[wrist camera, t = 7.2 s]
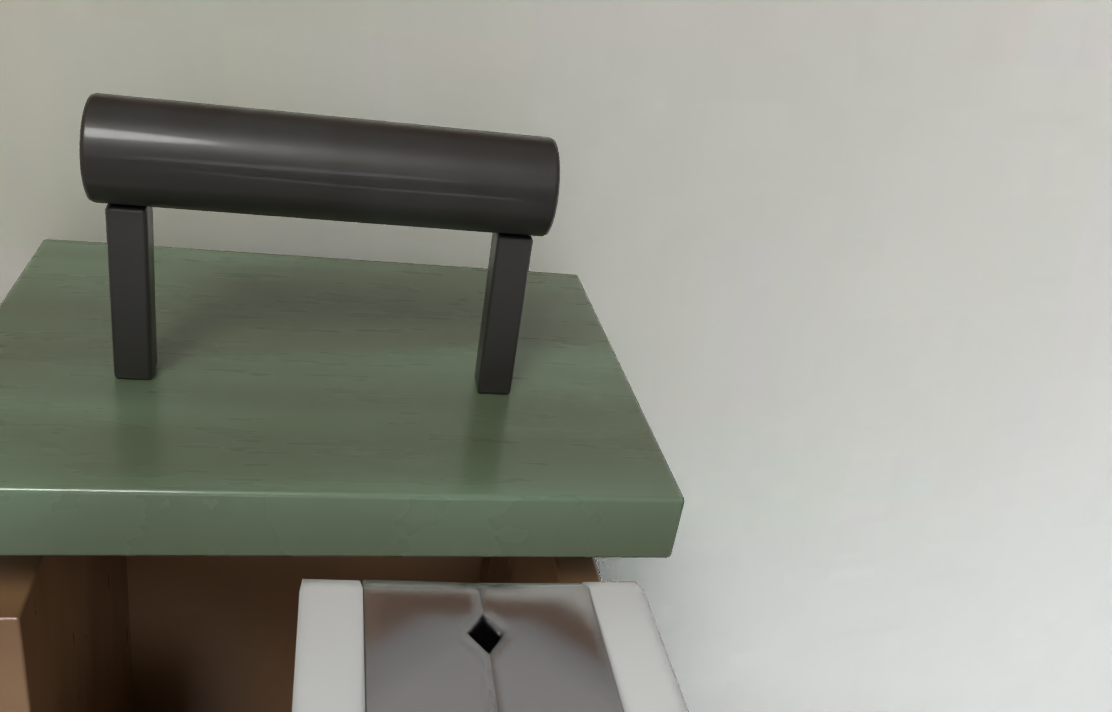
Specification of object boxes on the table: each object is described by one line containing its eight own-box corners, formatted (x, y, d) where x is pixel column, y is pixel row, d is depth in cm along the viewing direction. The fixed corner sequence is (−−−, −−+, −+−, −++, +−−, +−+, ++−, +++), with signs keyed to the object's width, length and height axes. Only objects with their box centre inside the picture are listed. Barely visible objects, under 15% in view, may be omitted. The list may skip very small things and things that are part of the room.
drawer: (24, 7, 19) (-188, 150, 11) (612, 73, 22) (756, 226, 14) (83, 709, 27) (-18, 1062, 20) (504, 697, 30) (559, 1005, 22)
